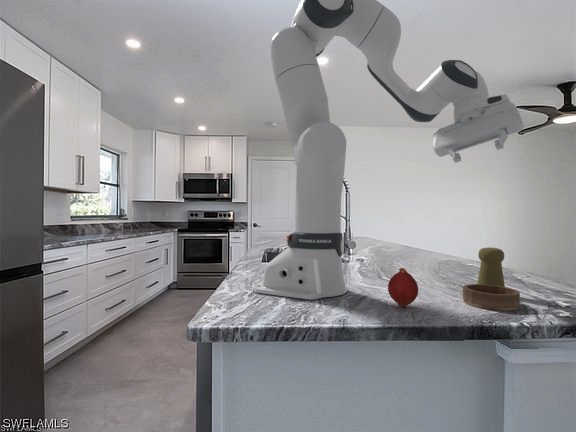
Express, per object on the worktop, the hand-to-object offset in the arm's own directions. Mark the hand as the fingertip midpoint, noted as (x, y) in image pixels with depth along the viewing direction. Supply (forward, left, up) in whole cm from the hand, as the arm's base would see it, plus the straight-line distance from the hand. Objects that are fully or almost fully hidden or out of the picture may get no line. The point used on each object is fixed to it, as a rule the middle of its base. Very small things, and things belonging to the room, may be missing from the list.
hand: (477, 154), depth 80 cm
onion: (-19, -20, -34) cm, 43 cm away
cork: (+2, -3, -34) cm, 34 cm away
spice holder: (-1, -12, -34) cm, 36 cm away
